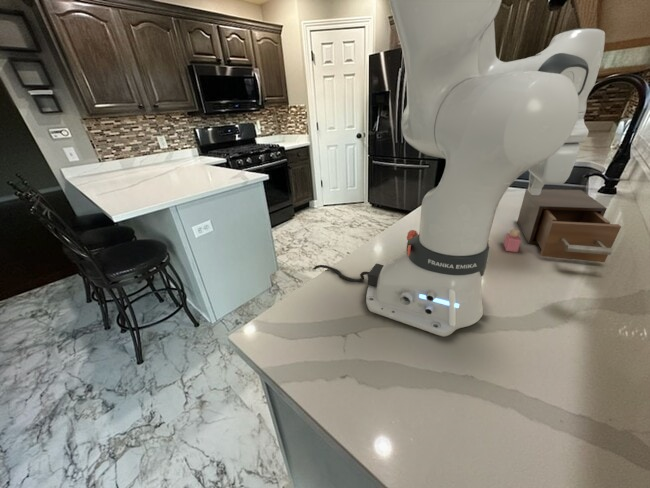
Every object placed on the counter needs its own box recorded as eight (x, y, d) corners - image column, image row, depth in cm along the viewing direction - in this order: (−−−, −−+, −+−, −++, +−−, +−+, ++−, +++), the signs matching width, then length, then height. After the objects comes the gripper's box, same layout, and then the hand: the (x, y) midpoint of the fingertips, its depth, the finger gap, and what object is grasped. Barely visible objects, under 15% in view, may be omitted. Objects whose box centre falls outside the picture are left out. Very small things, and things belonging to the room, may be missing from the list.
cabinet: (589, 248, 65) (607, 208, 60) (528, 243, 70) (539, 205, 65) (568, 224, 77) (581, 189, 72) (517, 222, 81) (525, 189, 77)
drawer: (616, 274, 54) (635, 237, 50) (547, 267, 58) (560, 232, 54) (580, 236, 69) (592, 204, 65) (527, 232, 73) (536, 202, 69)
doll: (505, 250, 68) (510, 231, 65) (503, 244, 70) (508, 225, 68) (517, 251, 67) (523, 232, 64) (514, 245, 69) (520, 226, 67)
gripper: (521, 125, 63) (508, 181, 70) (548, 135, 47) (528, 207, 53) (553, 123, 61) (537, 181, 67) (593, 133, 45) (566, 209, 51)
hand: (533, 193), depth 60 cm, fingers closed
